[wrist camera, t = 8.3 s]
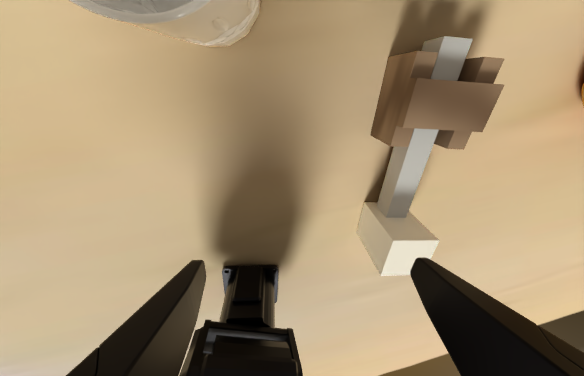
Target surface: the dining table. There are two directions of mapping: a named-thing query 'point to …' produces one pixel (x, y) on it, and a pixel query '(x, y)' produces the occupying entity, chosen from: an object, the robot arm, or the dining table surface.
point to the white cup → (183, 17)
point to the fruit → (583, 94)
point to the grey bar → (408, 183)
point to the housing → (435, 100)
